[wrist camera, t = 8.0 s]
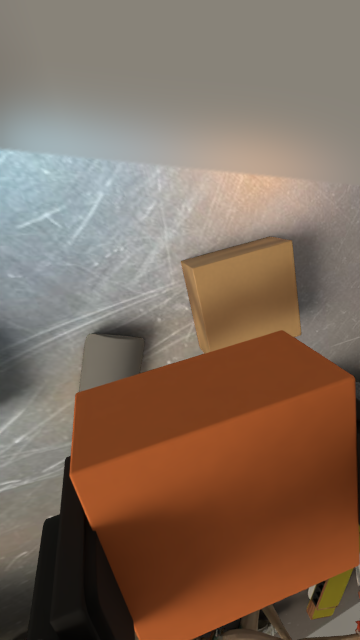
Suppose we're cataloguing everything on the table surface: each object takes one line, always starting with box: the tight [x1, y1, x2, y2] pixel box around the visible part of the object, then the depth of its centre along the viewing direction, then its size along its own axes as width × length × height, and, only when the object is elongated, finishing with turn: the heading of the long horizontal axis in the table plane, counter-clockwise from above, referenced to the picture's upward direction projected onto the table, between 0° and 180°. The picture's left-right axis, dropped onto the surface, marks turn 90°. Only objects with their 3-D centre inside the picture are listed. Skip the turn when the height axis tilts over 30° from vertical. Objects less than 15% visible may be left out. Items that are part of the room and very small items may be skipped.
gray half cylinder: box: [79, 334, 145, 392], centre depth 27 cm, size 4×20×2 cm, turn 169°
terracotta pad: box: [69, 330, 360, 640], centre depth 9 cm, size 6×6×3 cm
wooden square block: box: [181, 237, 301, 354], centre depth 25 cm, size 7×7×3 cm
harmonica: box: [307, 525, 360, 620], centre depth 39 cm, size 15×3×2 cm, turn 170°
